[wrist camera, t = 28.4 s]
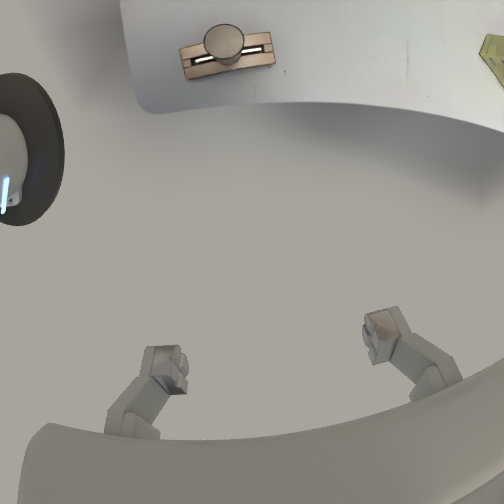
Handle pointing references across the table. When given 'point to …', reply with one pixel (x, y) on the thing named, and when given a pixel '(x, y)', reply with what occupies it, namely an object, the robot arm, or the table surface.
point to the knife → (225, 45)
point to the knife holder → (245, 61)
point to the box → (494, 55)
